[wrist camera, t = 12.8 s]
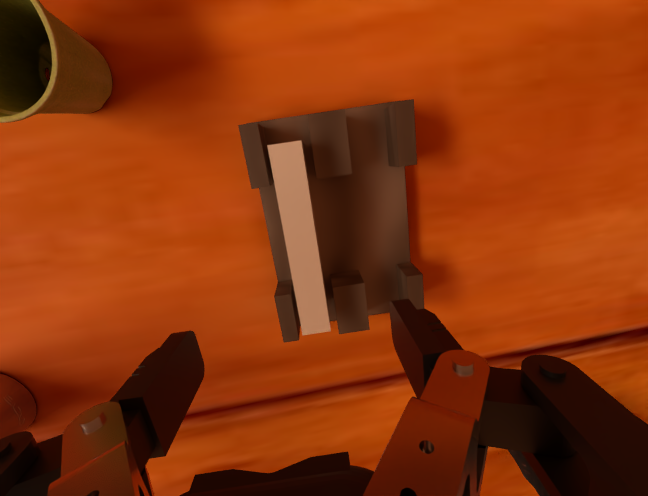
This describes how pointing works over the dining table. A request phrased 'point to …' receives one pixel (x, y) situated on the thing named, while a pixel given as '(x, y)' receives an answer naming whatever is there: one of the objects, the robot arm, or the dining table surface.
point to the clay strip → (300, 234)
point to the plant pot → (46, 65)
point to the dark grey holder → (345, 208)
